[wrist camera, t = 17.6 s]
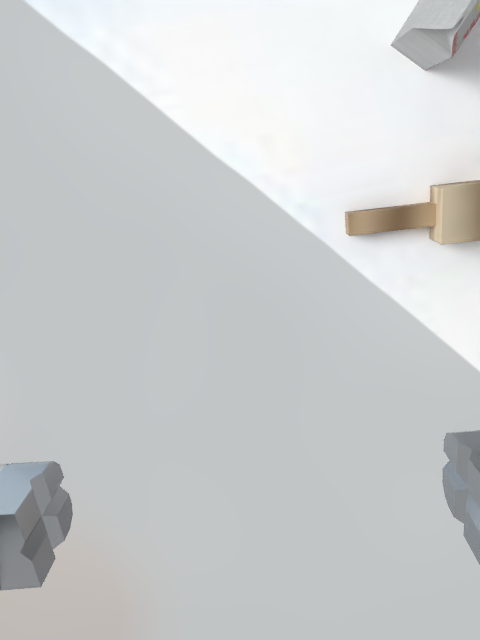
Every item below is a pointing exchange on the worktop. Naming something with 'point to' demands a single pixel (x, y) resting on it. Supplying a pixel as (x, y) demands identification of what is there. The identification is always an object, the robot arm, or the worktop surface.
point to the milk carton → (436, 30)
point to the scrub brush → (427, 215)
